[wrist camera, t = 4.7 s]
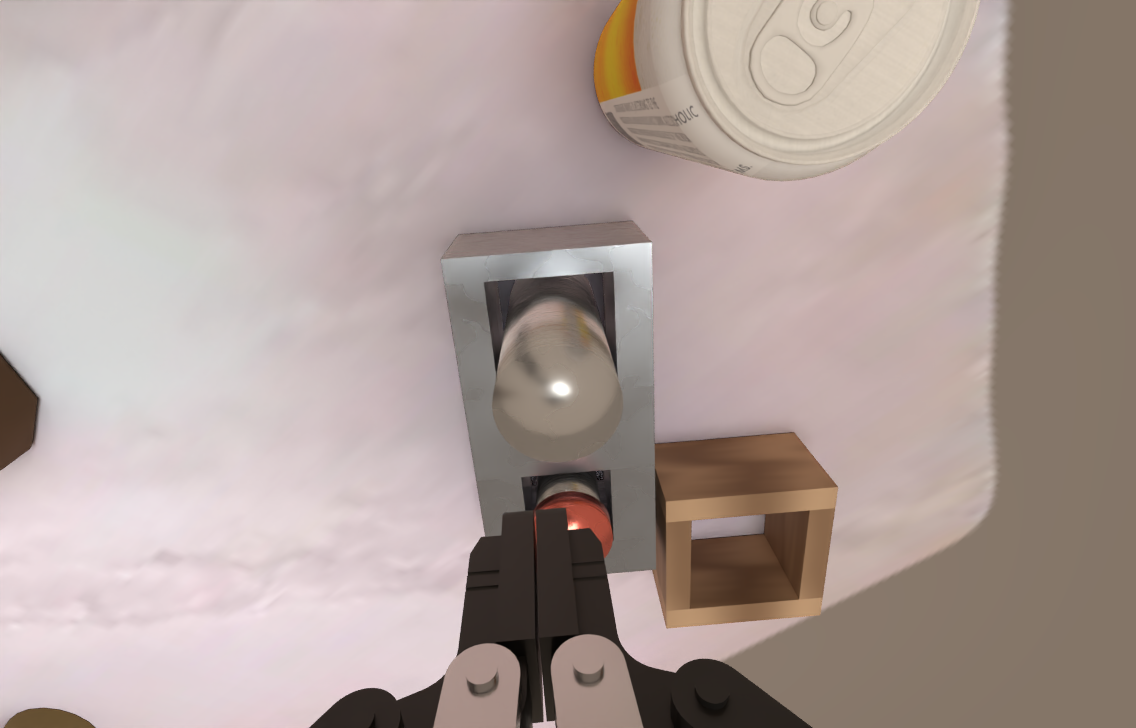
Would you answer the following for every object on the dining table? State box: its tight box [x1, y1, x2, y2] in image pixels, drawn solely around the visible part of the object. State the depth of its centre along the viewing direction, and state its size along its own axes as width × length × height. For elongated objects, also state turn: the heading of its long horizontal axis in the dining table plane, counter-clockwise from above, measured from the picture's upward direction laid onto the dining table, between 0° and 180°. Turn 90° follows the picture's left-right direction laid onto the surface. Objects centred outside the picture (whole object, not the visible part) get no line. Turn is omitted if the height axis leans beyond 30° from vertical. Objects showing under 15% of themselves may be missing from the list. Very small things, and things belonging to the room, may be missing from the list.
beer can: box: [594, 0, 980, 181], centre depth 17 cm, size 6×6×15 cm
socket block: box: [441, 221, 656, 574], centre depth 27 cm, size 8×16×5 cm, turn 4°
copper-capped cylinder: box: [533, 471, 613, 558], centre depth 27 cm, size 4×4×6 cm
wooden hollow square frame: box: [652, 433, 838, 628], centre depth 30 cm, size 8×8×5 cm
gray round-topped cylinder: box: [492, 274, 623, 462], centre depth 22 cm, size 4×4×11 cm
